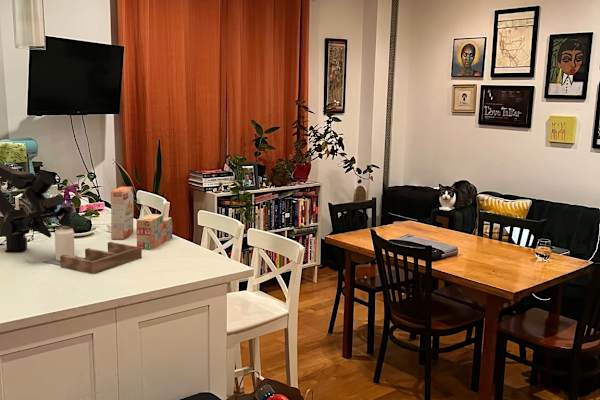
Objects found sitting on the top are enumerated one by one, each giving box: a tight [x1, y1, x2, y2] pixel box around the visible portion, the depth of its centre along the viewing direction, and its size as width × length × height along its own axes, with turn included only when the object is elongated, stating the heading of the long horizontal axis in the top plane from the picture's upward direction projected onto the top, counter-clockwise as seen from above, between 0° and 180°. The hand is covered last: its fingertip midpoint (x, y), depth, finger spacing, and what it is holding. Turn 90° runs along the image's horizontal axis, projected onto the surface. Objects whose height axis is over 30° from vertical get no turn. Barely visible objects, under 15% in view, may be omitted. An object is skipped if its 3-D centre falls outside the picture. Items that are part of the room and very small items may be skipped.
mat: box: [42, 255, 85, 267], centre depth 215 cm, size 10×11×1 cm
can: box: [54, 225, 76, 262], centre depth 214 cm, size 6×6×12 cm
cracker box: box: [110, 186, 134, 240], centre depth 253 cm, size 14×6×21 cm, turn 179°
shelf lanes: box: [60, 241, 143, 275], centre depth 214 cm, size 16×24×4 cm, turn 154°
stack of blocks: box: [136, 213, 173, 251], centre depth 243 cm, size 21×6×12 cm, turn 169°
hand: (60, 234), depth 214 cm, fingers open, 9 cm apart
